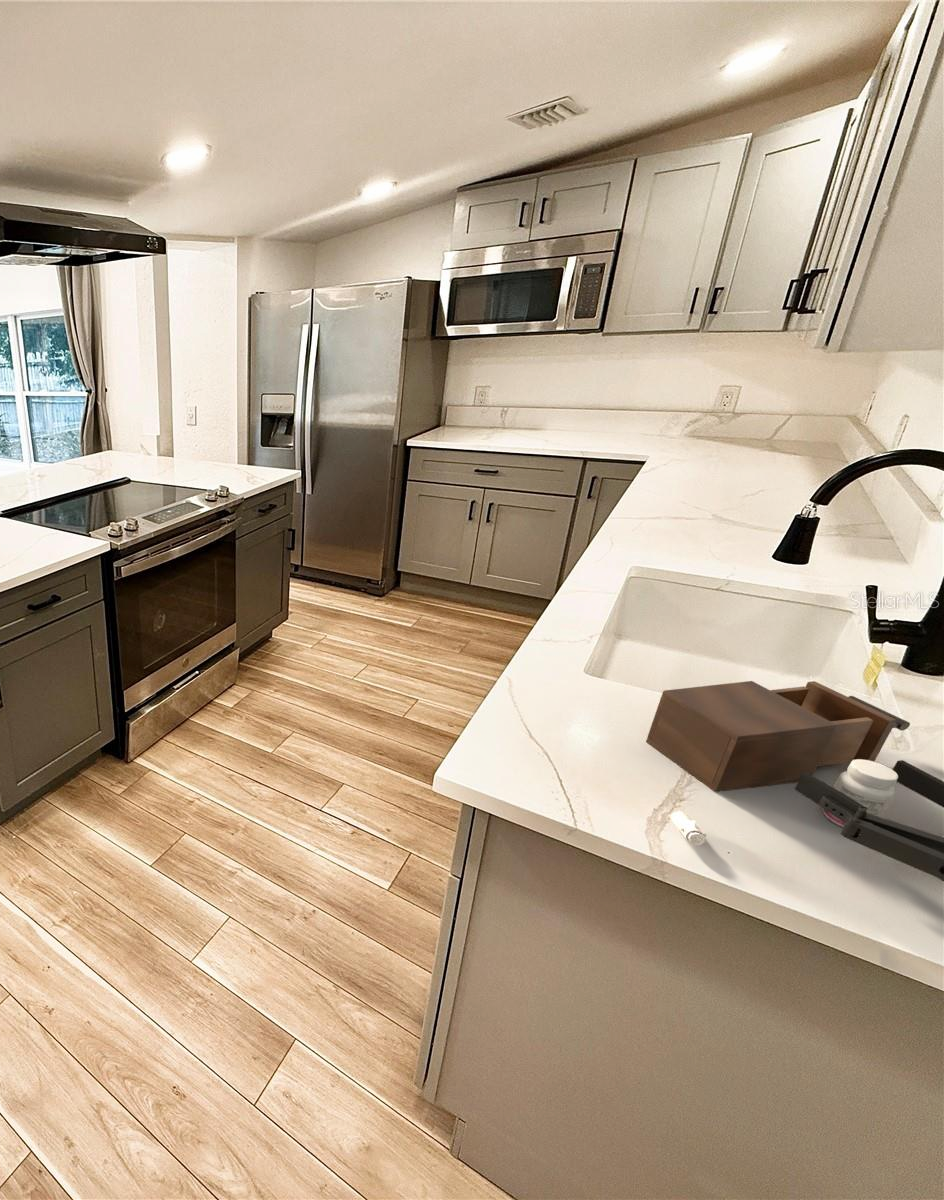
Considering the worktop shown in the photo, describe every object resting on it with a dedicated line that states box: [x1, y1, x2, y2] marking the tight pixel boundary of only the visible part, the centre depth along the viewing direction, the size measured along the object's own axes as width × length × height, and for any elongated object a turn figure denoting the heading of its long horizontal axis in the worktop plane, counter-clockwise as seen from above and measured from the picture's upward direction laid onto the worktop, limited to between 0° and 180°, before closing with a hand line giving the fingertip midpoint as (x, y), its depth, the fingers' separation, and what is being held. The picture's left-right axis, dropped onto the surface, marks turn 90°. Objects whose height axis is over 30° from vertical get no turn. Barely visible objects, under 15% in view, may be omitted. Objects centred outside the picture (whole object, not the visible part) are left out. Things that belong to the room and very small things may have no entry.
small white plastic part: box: [670, 811, 707, 846], centre depth 79 cm, size 4×6×3 cm, turn 134°
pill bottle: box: [822, 759, 898, 829], centre depth 78 cm, size 5×5×8 cm
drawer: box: [769, 680, 911, 767], centre depth 91 cm, size 19×10×8 cm, turn 96°
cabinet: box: [645, 680, 837, 793], centre depth 90 cm, size 15×12×10 cm
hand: (847, 774), depth 79 cm, fingers open, 13 cm apart
